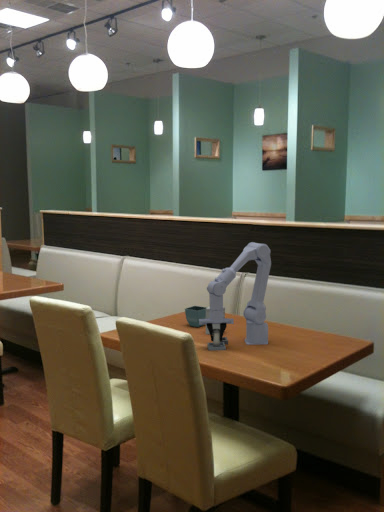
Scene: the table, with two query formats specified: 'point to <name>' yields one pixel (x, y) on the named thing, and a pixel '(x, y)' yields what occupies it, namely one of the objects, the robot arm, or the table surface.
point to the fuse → (216, 337)
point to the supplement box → (215, 326)
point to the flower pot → (195, 315)
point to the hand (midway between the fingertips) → (216, 340)
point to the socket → (224, 340)
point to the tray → (211, 347)
